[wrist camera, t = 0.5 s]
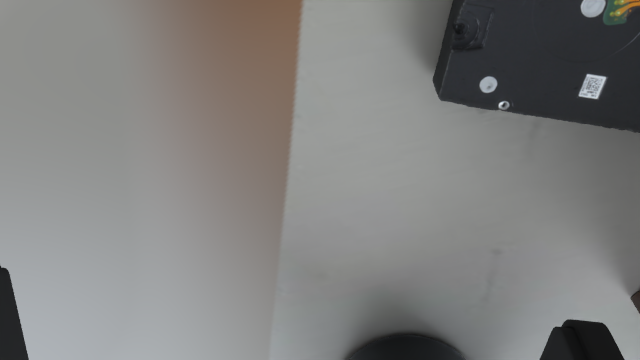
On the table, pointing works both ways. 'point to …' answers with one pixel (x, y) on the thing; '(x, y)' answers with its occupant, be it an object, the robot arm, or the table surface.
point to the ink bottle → (407, 349)
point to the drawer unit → (636, 300)
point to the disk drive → (545, 59)
